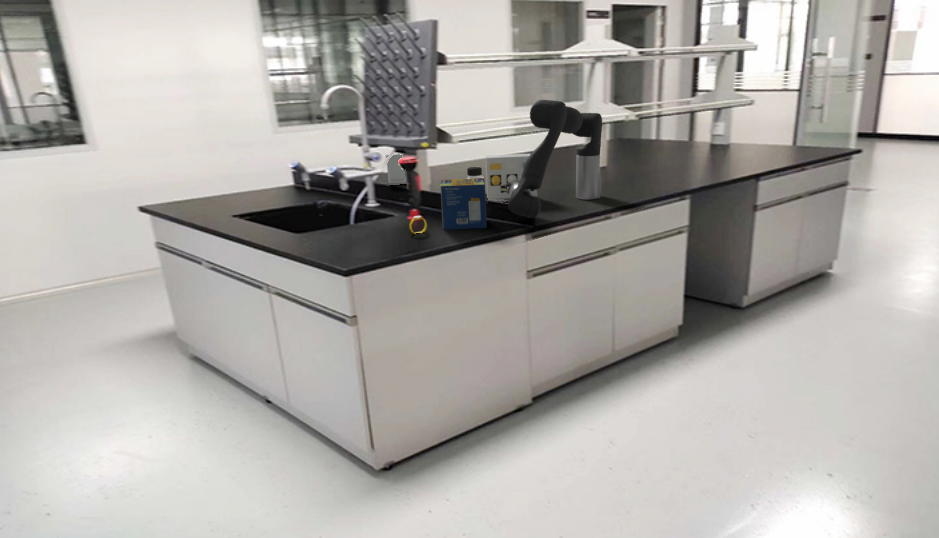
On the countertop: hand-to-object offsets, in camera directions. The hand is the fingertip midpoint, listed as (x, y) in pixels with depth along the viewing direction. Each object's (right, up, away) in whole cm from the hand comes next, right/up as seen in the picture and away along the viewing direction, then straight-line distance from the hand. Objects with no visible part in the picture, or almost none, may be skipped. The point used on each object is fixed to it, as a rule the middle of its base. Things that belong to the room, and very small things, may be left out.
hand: (515, 183), depth 231 cm
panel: (0, -4, +19) cm, 19 cm away
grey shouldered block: (-51, +7, +59) cm, 78 cm away
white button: (0, +2, +15) cm, 15 cm away
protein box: (-19, -17, -14) cm, 29 cm away
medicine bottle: (-15, -1, +31) cm, 34 cm away
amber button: (-7, +2, +15) cm, 17 cm away
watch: (-35, -20, -21) cm, 45 cm away
